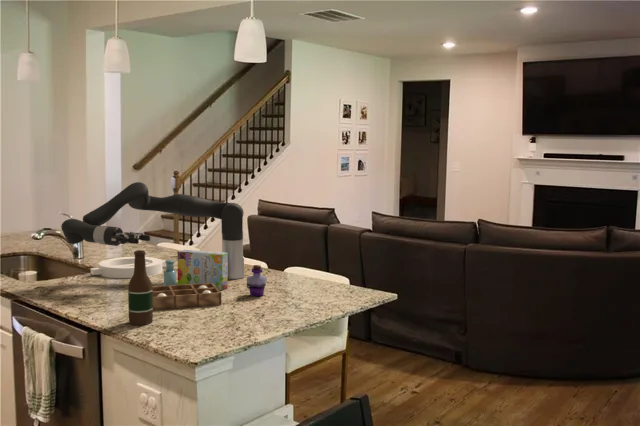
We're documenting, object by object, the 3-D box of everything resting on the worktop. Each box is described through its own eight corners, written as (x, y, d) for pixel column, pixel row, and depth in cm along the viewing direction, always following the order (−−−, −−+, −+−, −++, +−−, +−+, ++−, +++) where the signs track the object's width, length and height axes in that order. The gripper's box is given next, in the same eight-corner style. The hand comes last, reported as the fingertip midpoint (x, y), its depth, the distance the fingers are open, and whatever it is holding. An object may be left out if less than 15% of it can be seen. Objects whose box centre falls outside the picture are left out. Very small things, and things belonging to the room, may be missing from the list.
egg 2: (207, 294, 234) (207, 284, 234) (209, 296, 230) (209, 286, 230) (197, 294, 233) (197, 284, 232) (198, 297, 229) (198, 286, 229)
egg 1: (166, 302, 221) (166, 291, 220) (168, 305, 217) (168, 294, 217) (155, 303, 219) (155, 292, 219) (156, 305, 216) (156, 294, 215)
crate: (212, 294, 237) (212, 282, 237) (221, 304, 221) (221, 292, 221) (146, 298, 228) (146, 286, 228) (150, 310, 212) (150, 297, 212)
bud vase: (175, 291, 241) (175, 259, 240) (177, 294, 236) (176, 261, 235) (163, 292, 239) (162, 259, 238) (164, 295, 235) (164, 262, 233)
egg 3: (211, 299, 227) (211, 288, 226) (213, 301, 223) (213, 291, 222) (200, 299, 225) (200, 289, 225) (202, 302, 221) (202, 291, 221)
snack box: (228, 288, 249) (228, 252, 247) (221, 291, 243) (221, 254, 242) (183, 283, 255) (183, 248, 254) (176, 286, 250) (176, 250, 248)
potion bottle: (243, 293, 239) (243, 264, 238) (263, 291, 243) (264, 262, 241) (249, 298, 231) (249, 268, 230) (270, 296, 235) (270, 266, 234)
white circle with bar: (171, 267, 290) (170, 257, 289) (148, 280, 262) (148, 269, 262) (115, 265, 292) (115, 255, 292) (87, 277, 265) (87, 267, 264)
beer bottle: (131, 319, 201) (130, 248, 198) (155, 319, 202) (154, 248, 199) (125, 326, 193) (124, 252, 191) (150, 326, 194) (149, 253, 191)
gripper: (97, 228, 234) (134, 232, 231) (118, 224, 248) (153, 228, 244) (97, 247, 235) (134, 251, 231) (117, 242, 249) (153, 246, 245)
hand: (144, 239), depth 238 cm, fingers open, 8 cm apart
